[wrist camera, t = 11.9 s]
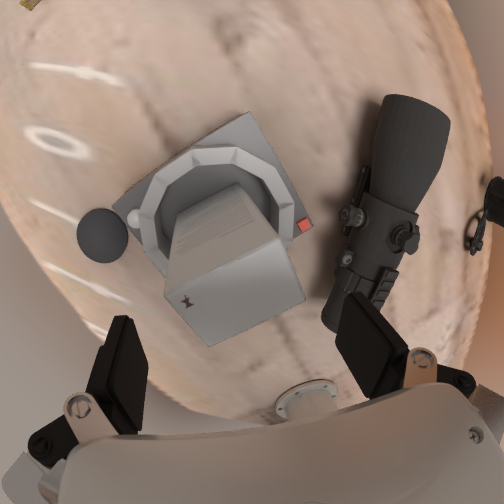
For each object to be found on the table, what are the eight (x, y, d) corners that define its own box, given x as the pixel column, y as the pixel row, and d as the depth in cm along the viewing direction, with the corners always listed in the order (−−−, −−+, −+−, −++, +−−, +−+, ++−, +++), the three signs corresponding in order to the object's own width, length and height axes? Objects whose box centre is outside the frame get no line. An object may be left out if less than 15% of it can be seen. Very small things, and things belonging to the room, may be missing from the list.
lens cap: (139, 239, 28) (137, 243, 27) (103, 267, 28) (100, 272, 27) (106, 196, 25) (102, 199, 24) (71, 228, 25) (67, 232, 24)
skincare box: (200, 252, 24) (205, 350, 14) (176, 213, 22) (158, 295, 12) (260, 221, 24) (309, 302, 14) (240, 179, 22) (279, 234, 12)
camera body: (298, 211, 29) (326, 238, 23) (191, 277, 30) (190, 320, 24) (241, 113, 24) (257, 109, 17) (124, 193, 25) (100, 217, 18)
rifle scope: (289, 296, 34) (318, 352, 25) (353, 90, 24) (415, 85, 15) (354, 301, 37) (390, 347, 28) (417, 125, 27) (477, 137, 18)
